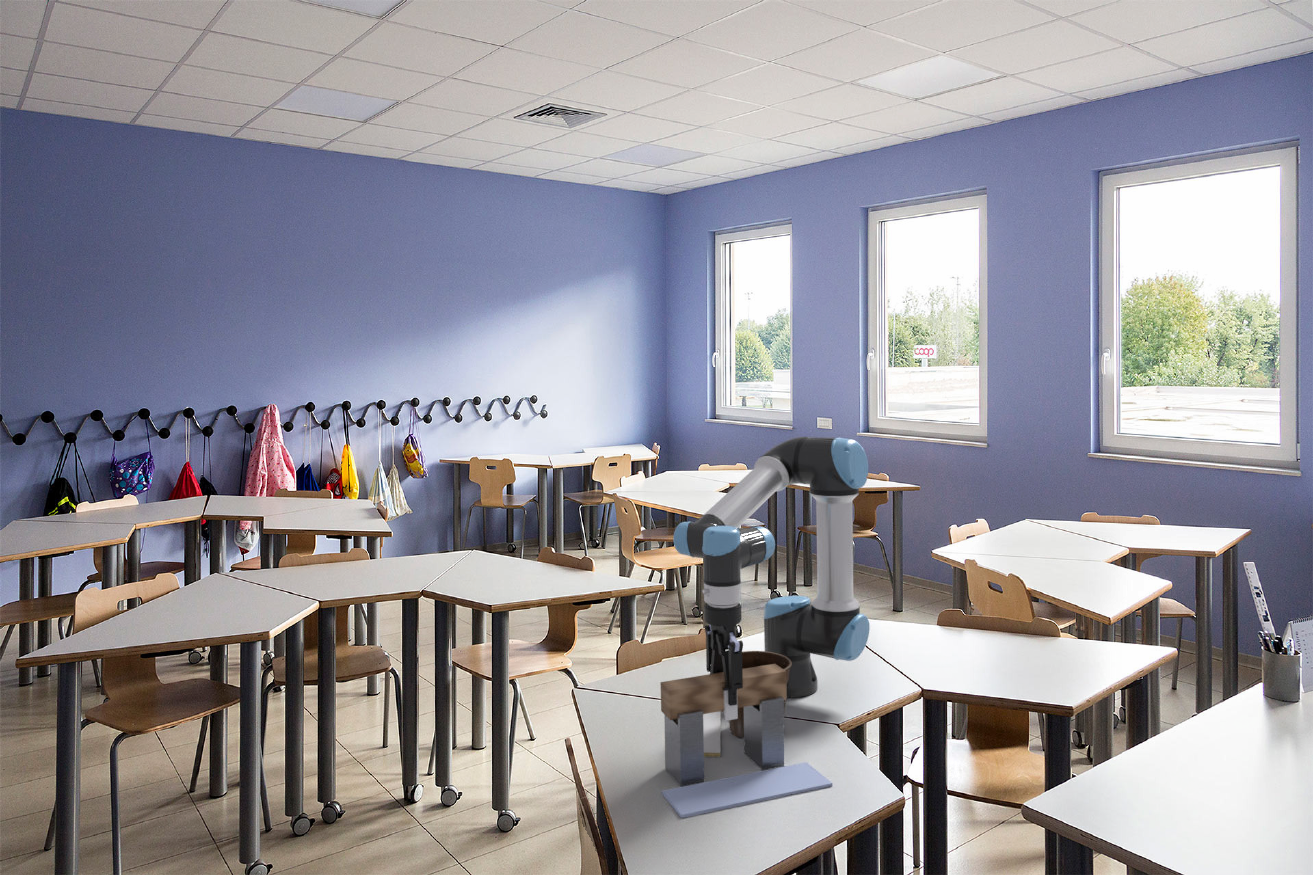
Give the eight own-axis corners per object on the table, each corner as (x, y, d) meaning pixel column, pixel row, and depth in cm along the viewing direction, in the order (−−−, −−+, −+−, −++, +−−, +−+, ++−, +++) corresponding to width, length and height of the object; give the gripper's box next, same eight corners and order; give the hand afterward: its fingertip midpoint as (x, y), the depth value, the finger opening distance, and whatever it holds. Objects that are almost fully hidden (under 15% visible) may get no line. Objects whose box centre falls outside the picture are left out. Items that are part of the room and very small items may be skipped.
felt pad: (806, 764, 182) (806, 761, 182) (832, 785, 172) (832, 782, 172) (661, 793, 170) (661, 790, 170) (681, 817, 161) (681, 814, 161)
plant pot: (710, 721, 205) (709, 653, 203) (774, 712, 209) (774, 646, 208) (735, 750, 189) (734, 677, 188) (804, 740, 193) (803, 669, 192)
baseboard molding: (664, 758, 187) (720, 759, 186) (663, 745, 187) (720, 746, 186) (672, 702, 218) (720, 703, 217) (672, 691, 218) (720, 691, 217)
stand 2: (765, 749, 189) (764, 683, 188) (784, 766, 181) (783, 697, 180) (744, 753, 187) (743, 687, 186) (762, 770, 179) (761, 701, 178)
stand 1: (687, 764, 183) (686, 696, 182) (704, 781, 175) (703, 711, 174) (665, 768, 181) (664, 700, 180) (680, 786, 173) (679, 715, 172)
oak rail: (775, 690, 187) (774, 663, 187) (786, 699, 182) (786, 671, 182) (661, 710, 178) (660, 682, 178) (670, 720, 173) (669, 690, 173)
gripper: (688, 594, 186) (691, 701, 188) (724, 616, 169) (726, 734, 171) (720, 590, 188) (723, 695, 190) (759, 612, 171) (761, 727, 173)
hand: (724, 713), depth 180 cm, fingers closed on oak rail, 5 cm apart
